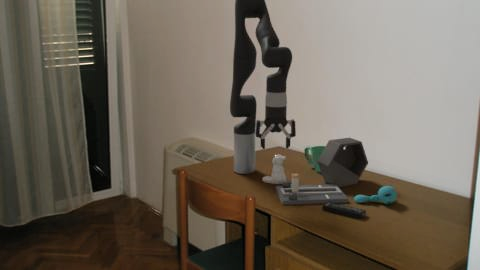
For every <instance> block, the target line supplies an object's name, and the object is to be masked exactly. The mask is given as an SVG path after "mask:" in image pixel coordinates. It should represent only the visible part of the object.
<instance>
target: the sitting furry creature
mask: <svg viewBox="0 0 480 270" xmlns="http://www.w3.org/2000/svg"><path fill="white" fill-rule="evenodd" d="M286 157H287V156H285V155H281V154H280V153H279V154H274V157H273V158H272V161H271V163H272V164H273V166H272V170H271V171H272V172H271V176H270V175H265V176H263V177H262V182H263V183H266V184H271V185H283V181H287V175H286V173H285V168H284V166H283V162H284V160H286V159H287V158H286Z"/></svg>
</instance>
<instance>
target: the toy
mask: <svg viewBox="0 0 480 270" xmlns="http://www.w3.org/2000/svg"><path fill="white" fill-rule="evenodd" d="M378 200H379V201H380V202H381V203H383V204H385V205H391V204H392V203H394V202H395V201H396V200H397V191H396V190H395V188H394V187H393V186H391V185H385V186H382V187H380V188H379V189H378V191H377V194H373V195H371V196H368V195H366V194H365V195H364V194H357V195H355V196H354V198H353V201H354V202H355V203H358V204H361V203H366V202H376V201H378Z"/></svg>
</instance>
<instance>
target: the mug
mask: <svg viewBox="0 0 480 270" xmlns="http://www.w3.org/2000/svg"><path fill="white" fill-rule="evenodd" d="M325 147H326V145H316V146H309V145H308V146H305V148H304V156H305V158H306V160H307V161H308V164H310V165H311V166H312V167H313V168H314V169H315V172H317V173H318V174H319V173H321V170H320V167H319V165H318V162H317V161H318V159H319V157H320V155H321V154H322V152H323V150H324V148H325ZM310 153H311V155H310ZM321 174H322V173H321Z"/></svg>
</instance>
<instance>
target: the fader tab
mask: <svg viewBox="0 0 480 270" xmlns="http://www.w3.org/2000/svg"><path fill="white" fill-rule="evenodd" d="M299 179H300V175H299V173H298V172H297V173H294V172H293V173H291V186H292V192H298V185H300V183H299V181H300V180H299Z"/></svg>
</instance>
